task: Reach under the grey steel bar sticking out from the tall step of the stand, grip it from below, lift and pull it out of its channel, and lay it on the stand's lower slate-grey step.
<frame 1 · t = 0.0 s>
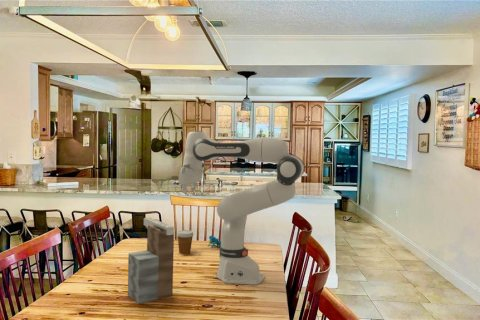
hand: (188, 191, 179), 39 cm above the table, tool pointing down, fingers open, 8 cm apart
stand: (151, 294, 150), on the table
steel bar: (157, 229, 153), point 26 cm above the table, touching stand
disposable coffee cup: (184, 252, 210), on the table
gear: (215, 247, 224), on the table
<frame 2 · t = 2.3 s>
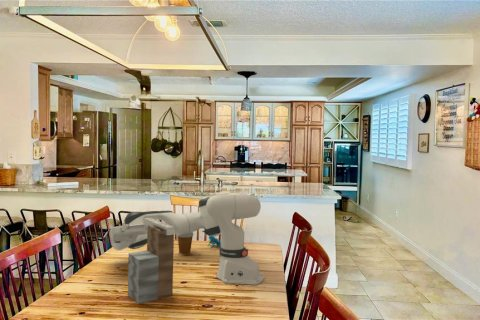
hand: (138, 224, 169), 24 cm above the table, tool pointing upward, fingers open, 8 cm apart
nothing on the table moved.
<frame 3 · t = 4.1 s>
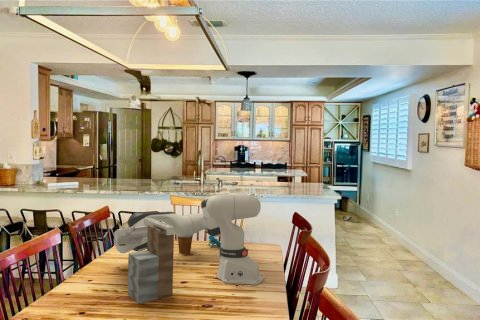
hand: (143, 226, 163), 25 cm above the table, tool pointing upward, fingers open, 8 cm apart
nothing on the table moved.
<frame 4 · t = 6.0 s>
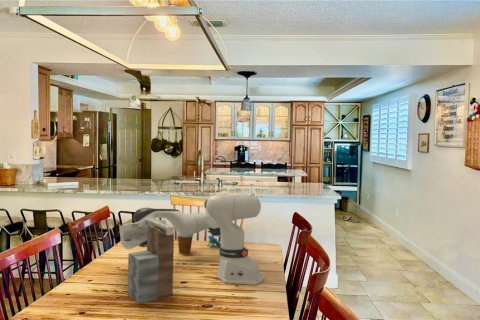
hand: (150, 221, 159), 28 cm above the table, tool pointing upward, fingers closed on steel bar, 3 cm apart
steel bar: (157, 229, 153), point 26 cm above the table, touching gripper, stand
everything else where it was.
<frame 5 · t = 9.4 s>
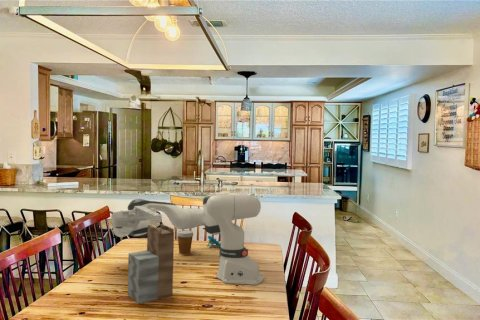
hand: (140, 209, 166), 32 cm above the table, tool pointing upward, fingers closed on steel bar, 3 cm apart
steel bar: (147, 217, 160), point 30 cm above the table, touching gripper
when the fingers open (20 cm above the table, at t = 13.0 s): steel bar stays where it is, resting on stand.
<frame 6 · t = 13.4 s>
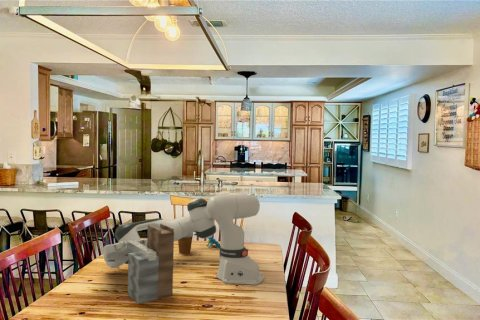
hand: (133, 242, 155), 20 cm above the table, tool pointing upward, fingers open, 7 cm apart
steel bar: (140, 253, 149), point 17 cm above the table, touching stand
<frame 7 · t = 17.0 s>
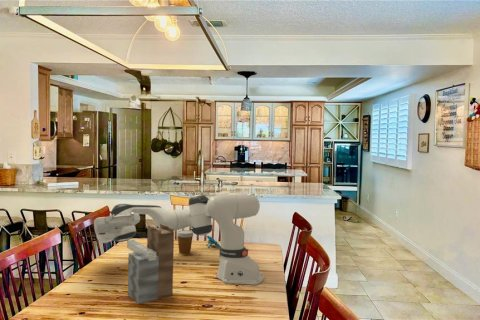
hand: (123, 215, 163), 30 cm above the table, tool pointing upward, fingers open, 8 cm apart
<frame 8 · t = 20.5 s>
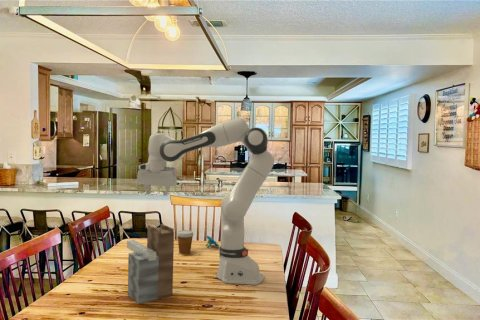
hand: (156, 194, 179), 37 cm above the table, tool pointing down, fingers open, 8 cm apart
at the end: steel bar 0.3 cm from the target spot, point 17.0 cm above the table; steel bar tilted 0°; the gripper is holding nothing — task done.
